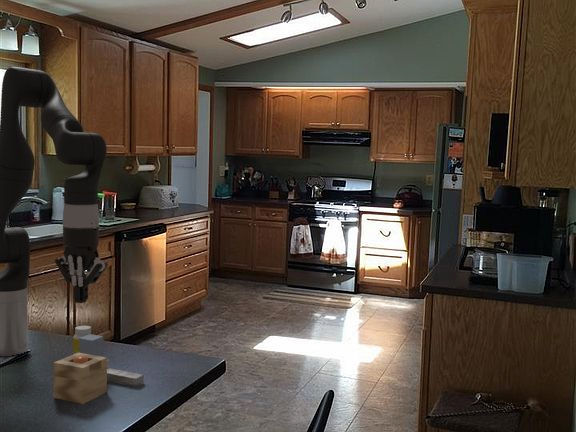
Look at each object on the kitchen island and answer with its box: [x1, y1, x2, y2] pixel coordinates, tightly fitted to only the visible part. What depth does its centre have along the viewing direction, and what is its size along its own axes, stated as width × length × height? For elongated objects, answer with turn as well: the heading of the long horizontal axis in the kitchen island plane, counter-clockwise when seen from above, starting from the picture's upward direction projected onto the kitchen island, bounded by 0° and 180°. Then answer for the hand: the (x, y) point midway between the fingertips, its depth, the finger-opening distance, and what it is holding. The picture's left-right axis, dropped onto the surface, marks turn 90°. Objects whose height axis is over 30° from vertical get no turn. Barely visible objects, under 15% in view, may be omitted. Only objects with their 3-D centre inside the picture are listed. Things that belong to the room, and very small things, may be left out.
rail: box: [107, 367, 145, 388], centre depth 156 cm, size 18×3×2 cm, turn 68°
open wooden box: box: [53, 353, 108, 405], centre depth 145 cm, size 8×8×8 cm
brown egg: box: [74, 355, 88, 364], centre depth 145 cm, size 3×3×3 cm
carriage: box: [79, 333, 110, 368], centre depth 158 cm, size 6×6×9 cm
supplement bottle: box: [72, 325, 92, 355], centre depth 170 cm, size 5×5×8 cm
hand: (80, 302), depth 144 cm, fingers closed
